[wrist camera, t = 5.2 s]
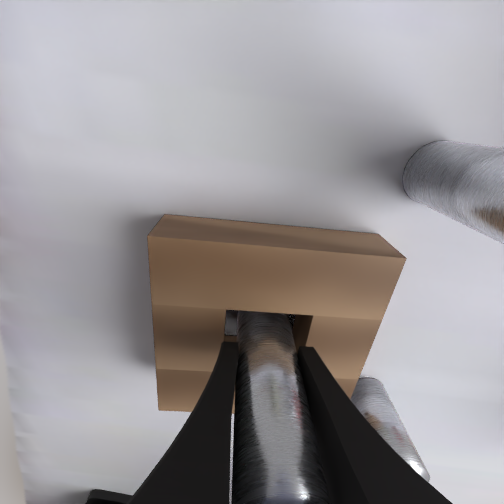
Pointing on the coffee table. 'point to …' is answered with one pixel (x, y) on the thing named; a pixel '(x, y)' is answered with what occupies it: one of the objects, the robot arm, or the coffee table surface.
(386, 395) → the pin short
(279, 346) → the pin medium
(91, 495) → the end cap
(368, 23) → the coffee table surface
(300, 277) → the socket block
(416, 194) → the pin long
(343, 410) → the robot arm
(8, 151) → the coffee table surface
